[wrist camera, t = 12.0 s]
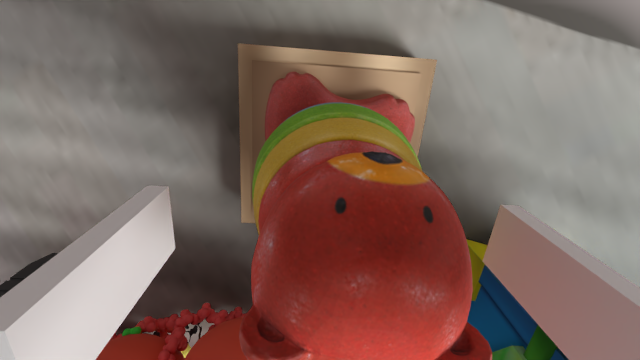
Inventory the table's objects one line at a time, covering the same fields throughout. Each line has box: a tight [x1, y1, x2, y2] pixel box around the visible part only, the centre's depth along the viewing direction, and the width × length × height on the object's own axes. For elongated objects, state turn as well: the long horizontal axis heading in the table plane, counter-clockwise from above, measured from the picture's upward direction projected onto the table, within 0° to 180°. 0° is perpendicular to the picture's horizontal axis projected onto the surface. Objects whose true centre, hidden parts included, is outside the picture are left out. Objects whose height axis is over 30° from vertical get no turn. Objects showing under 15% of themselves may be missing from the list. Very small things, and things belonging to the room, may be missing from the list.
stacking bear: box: [239, 71, 492, 360], centre depth 15 cm, size 11×10×18 cm
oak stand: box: [238, 43, 437, 223], centre depth 25 cm, size 14×14×4 cm
